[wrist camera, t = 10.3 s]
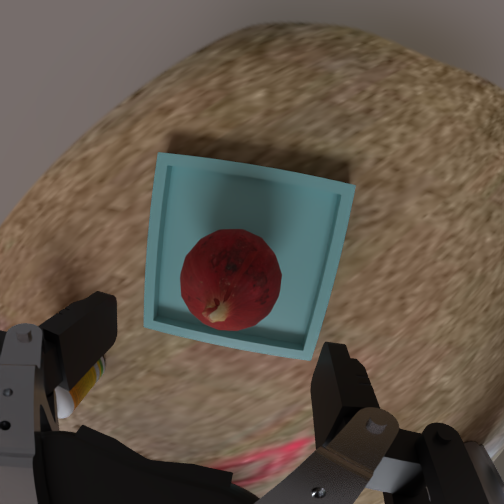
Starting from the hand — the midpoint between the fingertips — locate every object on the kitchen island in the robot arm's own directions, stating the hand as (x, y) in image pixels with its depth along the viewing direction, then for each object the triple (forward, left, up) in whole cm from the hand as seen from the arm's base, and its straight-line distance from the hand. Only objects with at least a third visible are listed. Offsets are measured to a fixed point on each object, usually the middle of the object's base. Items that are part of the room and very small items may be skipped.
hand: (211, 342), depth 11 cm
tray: (0, 0, -11) cm, 11 cm away
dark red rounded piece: (0, 0, -11) cm, 11 cm away
